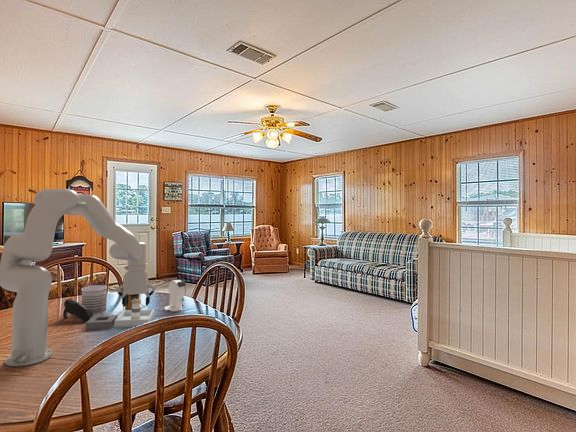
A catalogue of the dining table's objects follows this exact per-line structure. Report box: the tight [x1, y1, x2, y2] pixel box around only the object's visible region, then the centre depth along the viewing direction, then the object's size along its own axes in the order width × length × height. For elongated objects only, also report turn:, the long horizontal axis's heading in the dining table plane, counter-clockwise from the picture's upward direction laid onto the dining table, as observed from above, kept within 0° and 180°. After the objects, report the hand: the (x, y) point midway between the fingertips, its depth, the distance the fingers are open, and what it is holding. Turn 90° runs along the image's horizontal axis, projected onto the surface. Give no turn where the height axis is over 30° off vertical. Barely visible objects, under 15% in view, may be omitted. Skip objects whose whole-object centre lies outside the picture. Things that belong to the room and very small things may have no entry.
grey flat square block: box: [85, 314, 119, 331], centre depth 149 cm, size 10×10×3 cm
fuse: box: [131, 298, 142, 320], centre depth 156 cm, size 4×4×9 cm
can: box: [81, 284, 108, 315], centre depth 171 cm, size 11×11×12 cm
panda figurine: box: [164, 277, 187, 312], centre depth 179 cm, size 12×11×15 cm
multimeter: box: [122, 274, 145, 312], centre depth 175 cm, size 15×10×20 cm
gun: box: [62, 298, 94, 323], centre depth 156 cm, size 3×16×10 cm, turn 79°
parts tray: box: [113, 309, 155, 329], centre depth 156 cm, size 16×14×3 cm
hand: (135, 305), depth 156 cm, fingers open, 9 cm apart
